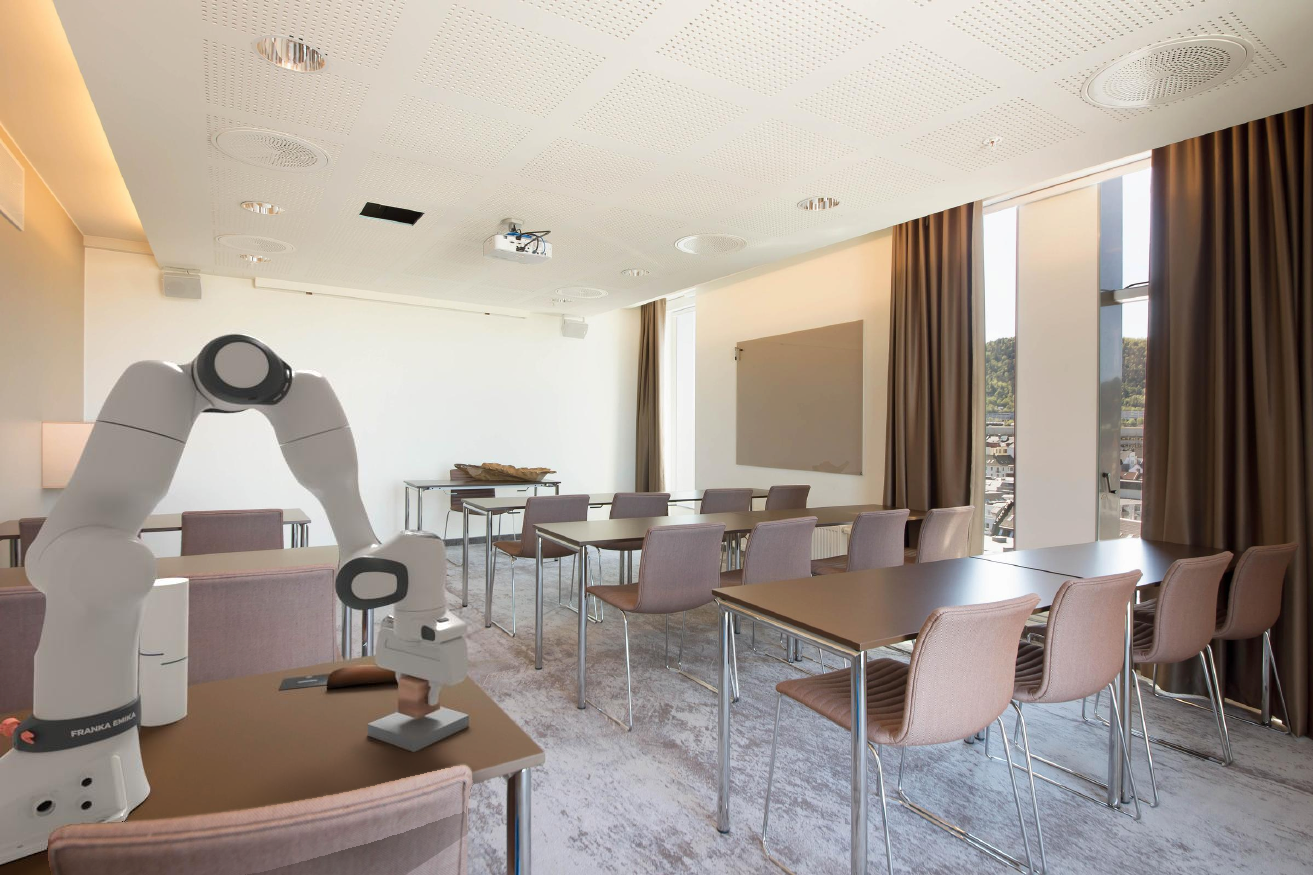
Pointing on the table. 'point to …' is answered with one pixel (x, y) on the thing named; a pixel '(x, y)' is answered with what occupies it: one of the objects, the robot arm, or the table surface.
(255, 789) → the table surface
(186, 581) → the cylindrical container
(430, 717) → the slate base
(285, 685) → the solid state drive
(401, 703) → the terracotta block
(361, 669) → the sunglasses case
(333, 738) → the table surface
